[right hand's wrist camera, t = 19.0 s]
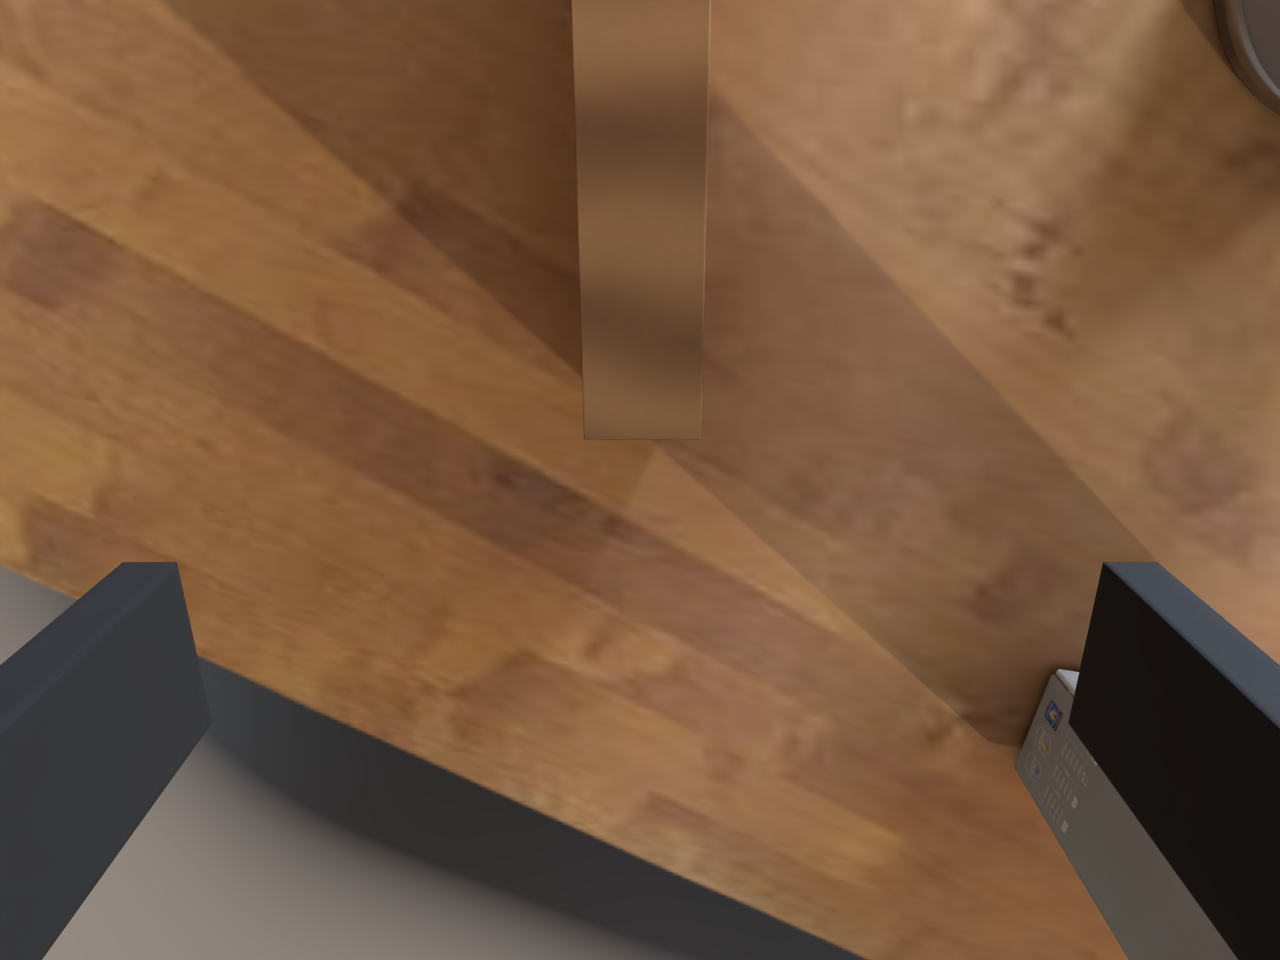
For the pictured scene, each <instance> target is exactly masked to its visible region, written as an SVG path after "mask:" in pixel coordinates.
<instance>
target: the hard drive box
mask: <svg viewBox="0 0 1280 960" xmlns="http://www.w3.org/2000/svg"><path fill="white" fill-rule="evenodd" d="M1078 676H1079V672H1075V671H1069V670H1062V669H1058V670H1057V672H1056V673H1055V674H1052V675H1051V677H1050V680H1049V682H1048V685H1047V687H1046V689H1045V692H1044V695H1043V697H1042V700H1041V702H1040V704H1039V707H1038V710H1037V712H1036V715H1035V717H1034V719H1033V722H1032V724H1031V727H1030V730H1029V732H1028V735H1027V737H1026V739H1025V742H1024V744H1023V747H1022V749H1021V751H1020V754H1019V757H1018V759H1017V762H1016V765H1015V769H1016V771H1017V772H1018V774H1019V776H1020V777H1021V779H1022V781H1023V783H1024V784H1025V786H1026V788H1027V789H1028V791H1029V793H1030V794H1031V796H1032V797H1033V799H1034V801H1035V802H1036V804H1037V806H1038V808H1039V809H1040V811H1041V813H1042V814H1043V816H1044V818H1045V820H1046V821H1047V823H1048V825H1049V826H1050V828H1051V830H1052V831H1053V833H1054V835H1055V836H1056V838H1057V840H1058V842H1059V843H1060V845H1061V846H1062V848H1063V850H1064V851H1065V853H1066V855H1067V857H1068V858H1069V860H1070V862H1071V863H1072V865H1073V867H1074V868H1075V870H1076V872H1077V873H1078V875H1079V877H1080V878H1081V880H1082V882H1083V883H1084V885H1085V887H1086V888H1087V890H1088V892H1089V894H1090V895H1091V897H1092V899H1093V900H1094V902H1095V904H1096V905H1097V907H1098V909H1099V910H1100V912H1101V914H1102V915H1103V917H1104V919H1105V920H1106V922H1107V924H1108V925H1109V927H1110V929H1111V931H1112V932H1113V934H1114V936H1115V937H1116V939H1117V941H1118V942H1119V944H1120V946H1121V947H1122V949H1123V951H1124V952H1125V954H1126V956H1127V957H1128V959H1129V960H1238V959H1237V958H1236V956H1235V955H1234V953H1233V952H1232V951H1231V949H1230V948H1229V946H1228V945H1227V944H1226V942H1225V941H1224V939H1223V938H1222V937H1221V935H1220V934H1219V932H1218V931H1217V930H1216V928H1215V927H1214V925H1213V924H1212V923H1211V921H1210V920H1209V919H1208V917H1207V916H1206V914H1205V913H1204V912H1203V910H1202V909H1201V907H1200V906H1199V905H1198V903H1197V902H1196V900H1195V899H1194V898H1193V896H1192V895H1191V893H1190V892H1189V891H1188V889H1187V888H1186V887H1185V885H1184V884H1183V882H1182V881H1181V880H1180V878H1179V877H1178V875H1177V874H1176V873H1175V871H1174V870H1173V868H1172V867H1171V866H1170V864H1169V863H1168V861H1167V860H1166V859H1165V857H1164V856H1163V854H1162V853H1161V852H1160V850H1159V849H1158V848H1157V846H1156V845H1155V843H1154V842H1153V841H1152V839H1151V838H1150V836H1149V835H1148V834H1147V832H1146V831H1145V829H1144V828H1143V827H1142V825H1141V824H1140V822H1139V821H1138V820H1137V818H1136V817H1135V815H1134V814H1133V813H1132V811H1131V810H1130V809H1129V807H1128V806H1127V804H1126V803H1125V802H1124V800H1123V799H1122V797H1121V796H1120V795H1119V793H1118V792H1117V790H1116V789H1115V788H1114V786H1113V785H1112V783H1111V782H1110V781H1109V779H1108V778H1107V776H1106V775H1105V774H1104V772H1103V771H1102V770H1101V768H1100V767H1099V765H1098V764H1097V763H1096V761H1095V760H1094V758H1093V757H1092V756H1091V754H1090V753H1089V751H1088V750H1087V749H1086V747H1085V746H1084V744H1083V743H1082V742H1081V740H1080V739H1079V738H1078V736H1077V735H1076V733H1075V732H1074V731H1073V729H1072V728H1071V726H1070V725H1069V724H1068V722H1069V717H1070V712H1071V708H1072V703H1073V699H1074V694H1075V689H1076V685H1077V680H1078Z"/></svg>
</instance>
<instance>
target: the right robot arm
mask: <svg viewBox="0 0 1280 960" xmlns="http://www.w3.org/2000/svg"><path fill="white" fill-rule="evenodd" d="M1214 6H1215V13H1216V20H1217V25H1218V29H1219V33H1220V37H1221V41H1222V43H1223V46H1224V49H1225V51H1226V54H1227V56H1228V58H1229V60H1230V62H1231V64H1232V66H1233V68H1234V70H1235V71H1236V73H1237V74H1238V76H1239V77H1240V79H1241V80H1242V82H1243V83H1244V84H1245V85H1246V87H1247V88H1248V89H1249V90H1250V91H1251V92H1252V93H1253V95H1255V96H1256V97H1257V98H1258V99H1259V100H1260V101H1261V102H1262V103H1264V104H1265V105H1266V106H1268V107H1269V108H1271V109H1272V110H1274V111H1275V112H1276V113H1278V114H1280V0H1214ZM211 724H212V722H211V717H210V712H209V708H208V703H207V699H206V694H205V689H204V685H203V680H202V676H201V671H200V667H199V662H198V657H197V653H196V648H195V644H194V639H193V634H192V630H191V625H190V621H189V616H188V611H187V607H186V602H185V598H184V593H183V588H182V584H181V579H180V575H179V570H178V565H177V562H123V563H121V564H120V565H119V566H118V567H117V568H115V569H114V570H113V571H112V572H111V573H109V574H108V575H107V576H106V577H105V578H104V579H102V580H101V581H100V582H99V583H98V584H96V585H95V586H94V587H93V588H92V589H90V590H89V591H88V592H87V593H86V594H85V595H83V596H82V597H81V598H80V599H79V600H77V601H76V602H75V603H74V604H73V605H72V606H70V607H69V608H68V609H67V610H66V611H64V612H63V613H62V614H61V615H60V616H58V617H57V618H56V619H55V620H54V621H53V622H51V623H50V624H49V625H48V626H47V627H45V628H44V629H43V630H42V631H41V632H39V633H38V634H37V635H36V636H35V637H33V638H32V639H31V640H30V641H29V642H28V643H26V644H25V645H24V646H23V647H22V648H20V649H19V650H18V651H17V652H16V653H14V654H13V655H12V656H11V657H10V658H9V659H7V660H6V661H5V662H4V663H3V664H1V665H0V960H42V959H43V957H44V956H45V955H46V953H47V952H48V951H49V949H50V948H51V946H52V945H53V944H54V942H55V941H56V939H57V938H58V937H59V935H60V934H61V932H62V931H63V930H64V928H65V927H66V925H67V924H68V923H69V921H70V920H71V918H72V917H73V916H74V914H75V913H76V912H77V910H78V909H79V907H80V906H81V905H82V903H83V902H84V900H85V899H86V898H87V896H88V895H89V893H90V892H91V891H92V889H93V888H94V887H95V885H96V884H97V882H98V881H99V880H100V878H101V877H102V875H103V874H104V873H105V871H106V870H107V868H108V867H109V866H110V864H111V863H112V861H113V860H114V859H115V857H116V856H117V854H118V853H119V852H120V850H121V849H122V847H123V846H124V845H125V843H126V842H127V841H128V839H129V838H130V836H131V835H132V834H133V832H134V831H135V829H136V828H137V827H138V825H139V824H140V822H141V821H142V820H143V818H144V817H145V815H146V814H147V813H148V811H149V810H150V809H151V807H152V806H153V804H154V803H155V802H156V800H157V799H158V797H159V796H160V795H161V793H162V792H163V790H164V789H165V788H166V786H167V785H168V783H169V782H170V781H171V779H172V778H173V776H174V775H175V774H176V772H177V771H178V770H179V768H180V767H181V765H182V764H183V763H184V761H185V760H186V758H187V757H188V756H189V754H190V753H191V751H192V750H193V749H194V747H195V746H196V744H197V743H198V742H199V740H200V739H201V737H202V736H203V735H204V733H205V732H206V730H207V729H208V728H209V726H210V725H211ZM1068 724H1069V725H1070V726H1071V728H1072V729H1073V731H1074V732H1075V733H1076V735H1077V736H1078V738H1079V739H1080V740H1081V742H1082V743H1083V744H1084V746H1085V747H1086V749H1087V750H1088V751H1089V753H1090V754H1091V756H1092V757H1093V758H1094V760H1095V761H1096V763H1097V764H1098V765H1099V767H1100V768H1101V770H1102V771H1103V772H1104V774H1105V775H1106V776H1107V778H1108V779H1109V781H1110V782H1111V783H1112V785H1113V786H1114V788H1115V789H1116V790H1117V792H1118V793H1119V795H1120V796H1121V797H1122V799H1123V800H1124V802H1125V803H1126V804H1127V806H1128V807H1129V809H1130V810H1131V811H1132V813H1133V814H1134V815H1135V817H1136V818H1137V820H1138V821H1139V822H1140V824H1141V825H1142V827H1143V828H1144V829H1145V831H1146V832H1147V834H1148V835H1149V836H1150V838H1151V839H1152V841H1153V842H1154V843H1155V845H1156V846H1157V848H1158V849H1159V850H1160V852H1161V853H1162V854H1163V856H1164V857H1165V859H1166V860H1167V861H1168V863H1169V864H1170V866H1171V867H1172V868H1173V870H1174V871H1175V873H1176V874H1177V875H1178V877H1179V878H1180V880H1181V881H1182V882H1183V884H1184V885H1185V887H1186V888H1187V889H1188V891H1189V892H1190V893H1191V895H1192V896H1193V898H1194V899H1195V900H1196V902H1197V903H1198V905H1199V906H1200V907H1201V909H1202V910H1203V912H1204V913H1205V914H1206V916H1207V917H1208V919H1209V920H1210V921H1211V923H1212V924H1213V925H1214V927H1215V928H1216V930H1217V931H1218V932H1219V934H1220V935H1221V937H1222V938H1223V939H1224V941H1225V942H1226V944H1227V945H1228V946H1229V948H1230V949H1231V951H1232V952H1233V953H1234V955H1235V956H1236V958H1237V959H1238V960H1280V665H1279V664H1277V663H1276V662H1275V661H1274V660H1273V659H1271V658H1270V657H1269V656H1268V655H1267V654H1266V653H1264V652H1263V651H1262V650H1261V649H1260V648H1258V647H1257V646H1256V645H1255V644H1254V643H1252V642H1251V641H1250V640H1249V639H1248V638H1247V637H1245V636H1244V635H1243V634H1242V633H1241V632H1239V631H1238V630H1237V629H1236V628H1235V627H1233V626H1232V625H1231V624H1230V623H1229V622H1228V621H1226V620H1225V619H1224V618H1223V617H1222V616H1220V615H1219V614H1218V613H1217V612H1216V611H1214V610H1213V609H1212V608H1211V607H1210V606H1209V605H1207V604H1206V603H1205V602H1204V601H1203V600H1201V599H1200V598H1199V597H1198V596H1197V595H1195V594H1194V593H1193V592H1192V591H1191V590H1190V589H1188V588H1187V587H1186V586H1185V585H1184V584H1182V583H1181V582H1180V581H1179V580H1178V579H1176V578H1175V577H1174V576H1173V575H1172V574H1171V573H1169V572H1168V571H1167V570H1166V569H1165V568H1163V567H1162V566H1161V565H1160V564H1159V563H1157V562H1103V565H1102V570H1101V575H1100V579H1099V584H1098V588H1097V593H1096V598H1095V602H1094V607H1093V611H1092V616H1091V621H1090V625H1089V630H1088V634H1087V639H1086V644H1085V648H1084V653H1083V657H1082V662H1081V667H1080V671H1079V676H1078V680H1077V685H1076V689H1075V694H1074V699H1073V703H1072V708H1071V712H1070V717H1069V722H1068Z"/></svg>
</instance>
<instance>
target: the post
mask: <svg viewBox="0 0 1280 960" xmlns="http://www.w3.org/2000/svg"><path fill="white" fill-rule="evenodd" d="M571 15H572V48H573V82H574V116H575V149H576V183H577V217H578V250H579V284H580V318H581V351H582V385H583V419H584V440H687V439H701V426H702V381H703V336H704V291H705V246H706V200H707V155H708V110H709V65H710V20H711V0H571Z"/></svg>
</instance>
